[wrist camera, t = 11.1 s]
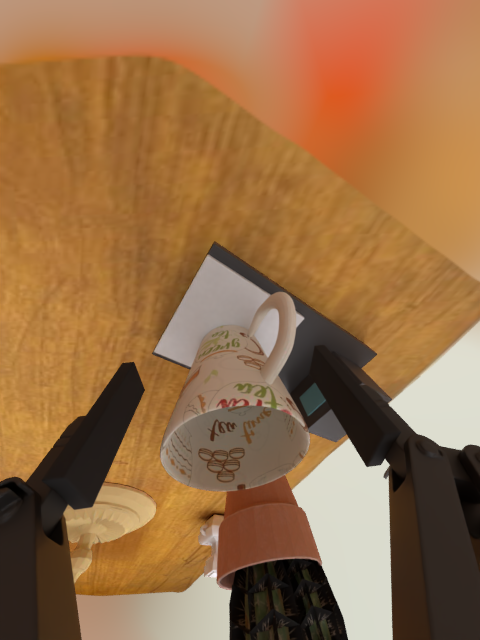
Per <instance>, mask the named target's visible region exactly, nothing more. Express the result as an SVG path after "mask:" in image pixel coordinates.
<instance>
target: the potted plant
mask: <svg viewBox="0 0 480 640" xmlns="http://www.w3.org/2000/svg"><path fill="white" fill-rule="evenodd" d="M321 565H322V561H321V558H320V556H319V552H318V549H317V546H316V543H315V540H314V537H313V534H312V531H311V529H310V525H309V522H308V520H307V516H306V513H305V512H304V511H303V510H302V508H300V507H298V505H297V502H296V500H295V497H294V495H293V493H292V490H291V488H290V486H289V483H288V481H287V479H286V477H285V475H284V476H282V477H280V478H278V479H276V480H274V481H272V482H269V483H267V484H264V485H261V486H258V487H254V488H249V489H244V490H237V491H227V497H226V505H225V513H224V520H223V521H222V522H221V524H220V527H219V535H218V560H217V584H218V585H219V587H220V588H223V589H226V590H232V593H231V598H230V604H229V606H230V640H348V637H347V633H346V628H345V624H344V619H343V616H342V614H341V611H340V609H339V606H338V604H337V602H336V599H335V597H334V595H333V592H332V590H331V587H330V585H329V583H328V580H327V577H326V575H325V573H324V571H323V569H322V566H321Z"/></svg>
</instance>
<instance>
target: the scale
mask: <svg viewBox="0 0 480 640" xmlns="http://www.w3.org/2000/svg"><path fill="white" fill-rule="evenodd" d="M276 292H285V293H287V294H288V295H289V296H290V297H291V298H292V300H293V302H294V306H295V311H296V334H295V340H294V345H293V348H292V351H291V353H290V355H289V357H288V359H287V361H286V363H285V364H284V366H283V368H282V369H281V371H280V373H279V374H278V376H279V377H280V379H281V381H282V383H283V384H284V386H285V388H286V389H287V391H288V393H289V394H290V396H291V398H292V399H293V401H294V403H295V404H296V406H297V408H298V410H299V411H300V413H301V415H302V417H303V419H304V421H305V423H306V425H307V428H308V430H309V433H312V434H315V435H317V436H320V437H323V438H326V439H328V440H331V441H334V442H337V441H338V440H339V439H341V438H342V437H343V436H345V435H346V432H345V431H344V429H343V427H342V426H341V424H340V422H339V421H338V419H337V418H336V416H335V414H334V413H333V411H332V409H331V408H330V406H329V404H328V403H327V401H326V400H325V398H324V396H323V395H322V393H321V391H320V390H319V388H318V387H317V385H316V383H315V382H314V380H313V378H312V377H311V375H310V374H309V372H310V367H311V362H312V357H313V351H314V346H318V345H325V346H326V347H327V349H328V350H329V351H330V352H331V353H332V354H333V355H334V357H335V358H336V359H337V360H338V361H339V362H340V363H341V364H342V366H343V367H344V368H345V369H346V370H347V371H348V372H349V373H350V375H351V376H352V377H353V378H354V379H355V380H356V381H357V383H358V384H359V385H368V386H369V387H371V388H372V389H374V390H375V391H376V392H377V393H378V394H379V395H380V396H381V397H382V398H383V400H385V401H386V402H387V403H388V402H390V401H391V400H392V399H391V398H390V397H389V396H388V395H387V394H386V393H385V392H384V391H383V390H382V389H381V388H380V387H379V386H378V385H377V384H376V383H375V382H374V381H373V380H372V379H371V378H370V377H369V376H368V375H367V374H366V373H365V372H364V371H363V370H362V369H361V368H362V367H364V366H365V365H366V364H367V363H368V362H369V361H370V360H371V359H373V358H374V357H375V356H376V355H377V353H375V352H374V351H373V350H372V349H370V348H369V347H368V346H367V345H366V344H364V343H363V342H361V341H360V340H358V339H357V338H356V337H354V336H353V335H351V334H350V333H348V332H347V331H345V330H344V329H342V328H341V327H339V326H338V325H337V324H335V323H334V322H332V321H331V320H329V319H328V318H326V317H325V316H323V315H322V314H320V313H319V312H318V311H316V310H315V309H313V308H312V307H310V306H309V305H307V304H306V303H304V302H303V301H301V300H300V299H298V298H297V297H296V296H294V295H293V294H291V293H290V292H288V291H287V290H285V289H284V288H282V287H281V286H279V285H278V284H277V283H275V282H274V281H272V280H271V279H269V278H268V277H266V276H265V275H263V274H262V273H260V272H259V271H258V270H256V269H255V268H253V267H252V266H250V265H249V264H247V263H246V262H244V261H243V260H241V259H240V258H239V257H237V256H236V255H234V254H233V253H231V252H230V251H228V250H227V249H225V248H224V247H222V246H221V245H220V244H218V243H217V242H214V243H213V245H212V247H211V249H210V250H209V252H208V254H207V256H206V258H205V259H204V261H203V263H202V265H201V267H200V268H199V270H198V272H197V274H196V276H195V277H194V279H193V281H192V283H191V285H190V286H189V288H188V290H187V292H186V293H185V295H184V297H183V299H182V301H181V302H180V304H179V306H178V308H177V310H176V311H175V313H174V315H173V317H172V319H171V320H170V322H169V324H168V326H167V328H166V329H165V331H164V333H163V335H162V336H161V338H160V340H159V342H158V344H157V346H156V347H155V349H154V351H153V353H152V354H153V355H156V356H158V357H161V358H163V359H165V360H168V361H170V362H173V363H175V364H178V365H180V366H183V367H185V368H188V369H191V367H192V364H193V362H194V359H195V357H196V354H197V352H198V349H199V347H200V345H201V342H202V340H203V339H204V337H205V336H206V335H207V334H208V333H209V332H210V331H211V330H213V329H215V328H217V327H220V326H223V325H237V326H241V327H244V328H246V329H248V330H249V328H250V325H251V323H252V320H253V318H254V315H255V313H256V311H257V309H258V308H259V307H260V306H261V305H262V304H263V302H264V301H265V300H266V299H267V298H268V297H269V296H270V295H272V294H274V293H276ZM278 331H279V313H278V311H277V309H272V310H270V311H269V312H268V313H267V315H266V316H265V317H264V319H263V320H262V322H261V324H260V325H259V327H258V329H257V330H256V332H255V334H254V336H255V337H256V339H257V340H258V342H259V344H260V345H261V347H262V349H263V350H264V352H265V354H266V356H267V357H269V356H270V354H271V352H272V350H273V348H274V346H275V344H276V340H277V336H278Z"/></svg>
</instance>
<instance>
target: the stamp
mask: <svg viewBox="0 0 480 640" xmlns="http://www.w3.org/2000/svg"><path fill="white" fill-rule="evenodd" d="M223 520H224V516H223V515H213V516H212V517H211V518H210V519H209V520H207V521H206V522H205V524H203V525H202V526H201V527H200V531H201V532H200V534H199V536H198V540H199V543H200V544H201V545H211V546H212V554H211V557H209V558H208V559H207V560H206V566H205V567H204V577H217V560H218V535H219V527H220V524H221V522H222V521H223Z"/></svg>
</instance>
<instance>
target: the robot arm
mask: <svg viewBox="0 0 480 640" xmlns="http://www.w3.org/2000/svg"><path fill="white" fill-rule="evenodd" d="M309 374H310V375H311V377H312V378H313V380H314V382H315V383H316V385H317V387H318V388H319V390H320V391H321V393H322V395H323V396H324V398H325V400H326V401H327V403H328V404H329V406H330V408H331V409H332V411H333V413H334V414H335V416H336V418H337V419H338V421H339V422H340V424H341V426H342V427H343V429H344V431H345V432H346V434H347V435H348V437H349V439H350V440H351V442H352V444H353V445H354V446H355V448H356V450H357V452H358V453H359V455H360V457H361V458H362V460H363V461H364V463H365V465H366V466H367V467H369V466H376V465H381V464H382V462H383V461H384V459H386V460H387V462H388V463H389V464H390V466H389V468H388V469H387V471H386V472H385V474H384V478H385V479H386V478H387V477H388V475H389V506H390V544H391V546H390V547H391V583H392V585H391V586H392V587H391V588H392V628H393V640H480V447H479V446H476V445H467V446H465V447H464V448H463V449H462V450H456V449H451V448H446V447H441V446H439V445H438V444H436V443H435V442H434V441H432V440H431V439H429V438H427V437H425V436H422V435H418V434H416V433H415V432H414V431H413V430H412V429H411V428H410V427H409V426H408V424H407V423H406V422H405V421H404V420H403V419H402V418H401V417H400V416H399V415H398V414H397V413H396V412H395V411H394V410H393V409H392V408H391V407H390V406H389V404H388V403H387V402H386V401H385V400H383V398H382V397H381V396H380V395H379V394H378V393H377V392H376V391H375V390H374V389H372V388H371V387H369V386H368V385H359V384H358V383H357V381H356V380H355V379H354V378H353V377H352V376H351V375H350V373H349V372H348V371H347V370H346V369H345V368H344V367H343V366H342V364H341V363H340V362H339V361H338V360H337V359H336V358H335V357H334V355H333V354H332V353H331V352H330V351H329V350H328V349H327V347H326V346H325V345H318V346H314V351H313V357H312V362H311V367H310V372H309ZM144 391H145V389H144V387H143V384H142V382H141V379H140V376H139V374H138V371H137V368H136V366H135V363H134V362H129V363H122V365H121V366H120V368H119V369H118V370H117V372H116V373H115V375H114V376H113V378H112V379H111V381H110V382H109V383H108V385H107V386H106V388H105V389H104V391H103V392H102V394H101V395H100V396H99V398H98V399H97V401H96V402H95V404H94V405H93V407H92V408H91V409H90V411H89V412H88V414H87V415H86V416H80V417H78V418H77V419H76V420H74V421H73V422H72V423H71V424H70V425H69V426H68V427H67V428H66V430H65V431H64V432H63V434H62V435H61V436H60V439H58V440H57V442H56V443H55V444H54V446H53V448H51V450H50V451H49V452H48V454H47V455H46V456H45V458H44V459H43V460H42V462H41V463H40V464H39V466H38V467H37V468H36V470H35V471H34V472H33V474H32V475H31V476H30V478H29V479H28V480H27V482H26V483H25V482H24V481H23V480H22V479H21V478H18V477H12V478H7V479H5V480H3V481H1V482H0V640H81V633H80V624H79V617H78V610H77V602H76V594H75V586H74V579H73V571H72V564H71V556H70V549H69V541H68V534H67V526H66V518H65V516H64V514H63V513H64V512H65V510H66V508H67V506H68V505H69V506H70V507H72V508H73V509H74V510H78V509H84V508H91V507H93V505H94V503H95V500H96V498H97V496H98V494H99V491H100V489H101V487H102V485H103V482H104V480H105V478H106V476H107V474H108V471H109V469H110V467H111V465H112V462H113V460H114V458H115V456H116V453H117V451H118V449H119V447H120V444H121V442H122V440H123V438H124V435H125V433H126V431H127V429H128V426H129V424H130V422H131V420H132V417H133V415H134V413H135V411H136V408H137V406H138V404H139V402H140V400H141V397H142V395H143V393H144Z"/></svg>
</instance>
